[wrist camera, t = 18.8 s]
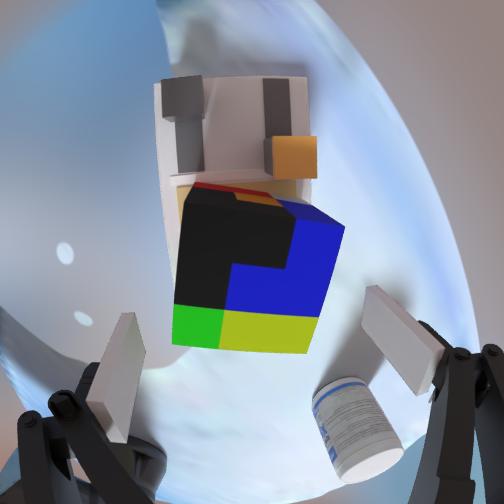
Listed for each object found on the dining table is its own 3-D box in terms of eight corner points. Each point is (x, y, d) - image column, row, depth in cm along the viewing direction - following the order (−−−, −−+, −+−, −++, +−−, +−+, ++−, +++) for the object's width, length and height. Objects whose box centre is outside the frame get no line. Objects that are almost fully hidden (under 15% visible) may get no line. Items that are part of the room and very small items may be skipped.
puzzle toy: (301, 198, 27) (345, 226, 18) (279, 293, 31) (306, 353, 21) (194, 181, 26) (183, 201, 16) (182, 282, 29) (171, 344, 20)
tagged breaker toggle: (263, 173, 26) (275, 179, 21) (262, 138, 25) (273, 136, 20) (298, 171, 26) (317, 178, 21) (297, 137, 25) (316, 136, 20)
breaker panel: (177, 288, 31) (175, 298, 29) (157, 87, 24) (153, 83, 22) (304, 276, 33) (309, 285, 31) (301, 81, 25) (307, 76, 23)
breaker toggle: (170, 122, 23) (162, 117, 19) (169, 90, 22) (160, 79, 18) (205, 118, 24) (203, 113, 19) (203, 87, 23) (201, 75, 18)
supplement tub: (298, 401, 40) (324, 480, 27) (348, 364, 39) (391, 441, 25) (330, 420, 44) (357, 487, 30) (374, 389, 42) (413, 453, 29)
